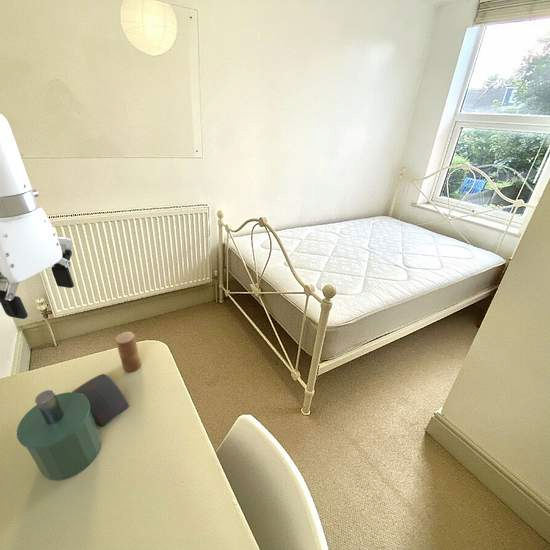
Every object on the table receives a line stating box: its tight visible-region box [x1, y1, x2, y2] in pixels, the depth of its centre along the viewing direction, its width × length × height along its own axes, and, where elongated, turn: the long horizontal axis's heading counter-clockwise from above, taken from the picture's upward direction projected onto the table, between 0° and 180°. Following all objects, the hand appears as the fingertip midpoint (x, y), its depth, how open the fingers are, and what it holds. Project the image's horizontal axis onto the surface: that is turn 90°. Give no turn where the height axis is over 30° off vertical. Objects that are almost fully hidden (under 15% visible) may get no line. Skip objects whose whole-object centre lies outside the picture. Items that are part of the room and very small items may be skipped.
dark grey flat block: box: [72, 373, 130, 427], centre depth 71 cm, size 8×14×4 cm, turn 55°
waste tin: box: [26, 411, 102, 481], centre depth 59 cm, size 10×10×10 cm
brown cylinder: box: [115, 331, 142, 373], centre depth 80 cm, size 4×4×10 cm
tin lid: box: [16, 389, 90, 449], centre depth 55 cm, size 11×11×7 cm
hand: (44, 300), depth 54 cm, fingers open, 9 cm apart
